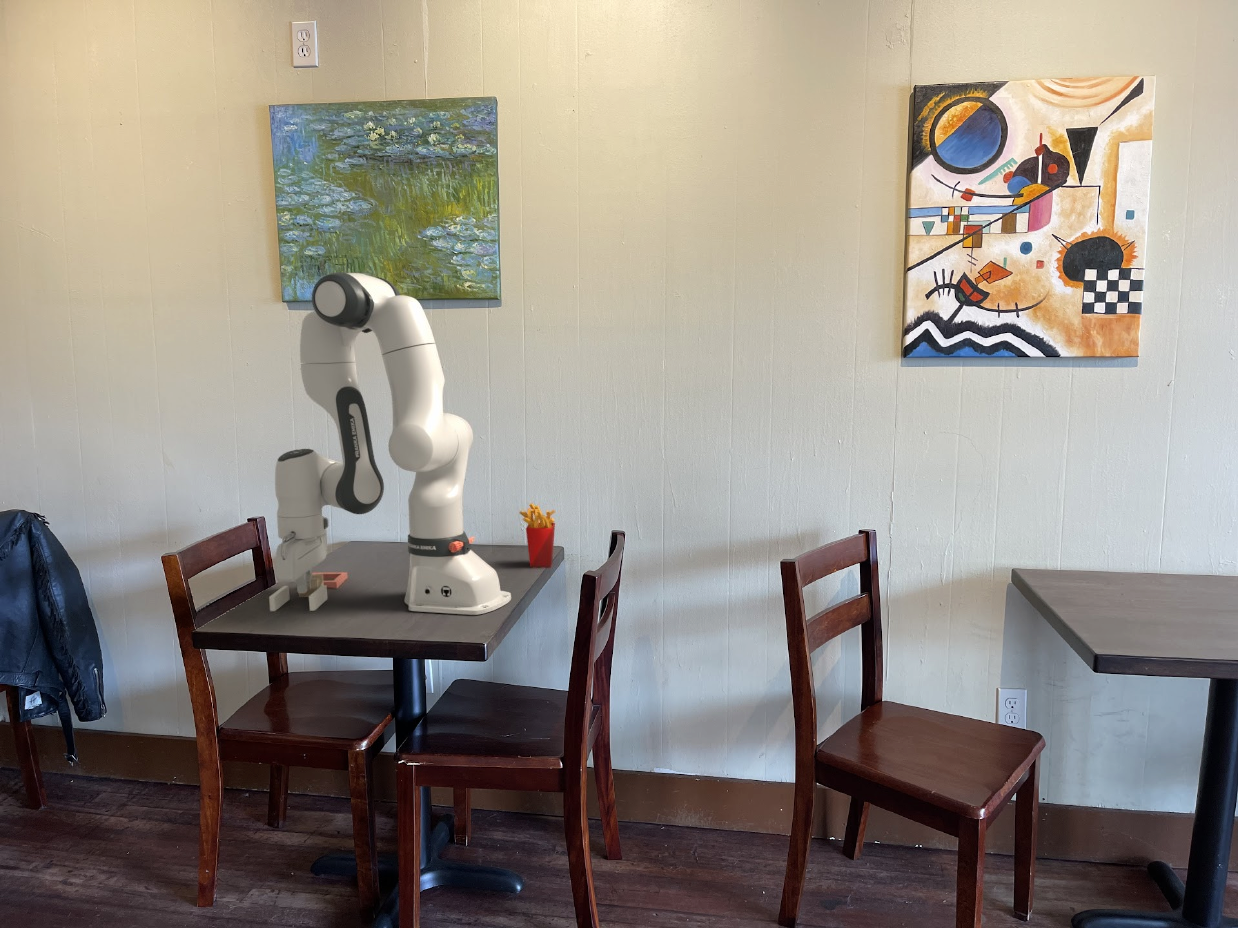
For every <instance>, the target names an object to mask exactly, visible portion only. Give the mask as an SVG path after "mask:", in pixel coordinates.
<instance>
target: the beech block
mask: <svg viewBox="0 0 1238 928" xmlns="http://www.w3.org/2000/svg"><path fill="white" fill-rule="evenodd" d="M310 583H311V588H310V589H309V590H308V591H307V592H306V593H298V597H299V598H309V596H310V595H311V594H312V593H313V592H315V591H316V590H317V589H318V588H319V587H321V586H322V585H324V583H323V574H312V577H311V581H310Z"/></svg>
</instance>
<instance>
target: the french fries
mask: <svg viewBox="0 0 1238 928" xmlns="http://www.w3.org/2000/svg"><path fill="white" fill-rule="evenodd" d="M528 506H529V507H530V508H527V509H526V510H524V511H523V510H520V511H519V515H521V516H523V519H522V521H523V522H524V523H527V526H526V528H525V530H526V533H525V534H526V539H527V549H528V557H529V566H530V567H547V568H548V569H550V568H551V567H552V564H553V558H554V557H553V556H554V546H555V545H554V544H555V528H556V522H555V519H554V517H551V516H552V515H554V514H555V513H556V510H555V509H553V510H551V511H550V510H546V511H545V513H546V515H544V514H543V512H542V511H541V508H540V506H539V505H538V504H537V505H534V503H529V504H528ZM526 511H527V512H526ZM547 568H546V569H547Z"/></svg>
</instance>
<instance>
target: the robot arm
mask: <svg viewBox="0 0 1238 928" xmlns="http://www.w3.org/2000/svg"><path fill="white" fill-rule="evenodd" d="M311 302H312V306H313V307H312V308H313V311H310V312H309V313H308V314H306V315H305V316H304V317H303V320H302V323H301V329H300V343H299V352H300V353H299V355H300V356H299V357H300V372H301V379H302V384H303V387H304V390H305V392H306V395H307V396H308V397H309V399H311V400H312V401H313V402H315V403H316V404H317V405H319V406H320V407H321V408H322V409H323V410H325V412H326V413H328V414H329V415H330V417H331V418H332V420H333V421H334V423H335V425H336V428H337V433H338V440H339V446H340V452H341V458H342V461H339V460H334V459H332V458H329V457H326V456H323V455H321V454H319V453H318V452H316V451H315V450H314V449H310V448H301V449H294V450H289V451H286V452H284V453H282V454H281V455H280V456H279V457H278V458H277V461H276V463H275V472H274V486H275V487H274V489H275V491H274V492H275V497H276V499H277V511H276V522H277V534H278V535H277V537H278V538H279V539H281V540H282V541H281V543H280V544H278V545H277V548H276V552H275V577H276V580H277V581H278V582H279V583H293V582H295V584H296V589H297V593H298V594H299V593H306V592H307V591H308V590H309V589H310V588H311V583H310V581H311V577H312V573H313V568H315V567H317V565H319V564H320V563H321V562H323V561H325V559H326V557H327V553H328V531H327V529H328V528H329V526H330V525H329V523H330V522H329V518H328V517H325V516H323V507H325V506H331V507H332V508H333V507H334V508H338V509H342V510H344V511H346V512H349V513H351V514H355V515H364V514H367V513H369V512H371V511H373V510H374V509H375V508H376V507H377V506H378V505H379V503H380V502H381V500H382V498H383V497H384V496H383V495H384V490H385V483H384V479H383V476H382V474H381V472H380V469H379V468H378V465H377V462H376V460H375V455H374V449H373V442H372V436H371V432H370V431H371V430H370V424H369V423H370V422H369V417H368V413H367V409H366V404H365V401H364V398H363V395H362V393H361V389H360V385H359V380H358V373H357V372H358V371H357V364H356V352H355V351H356V350H355V349H356V348H355V342H356V339H357V336H358V335H359V334H360V333H361V332H362V333H364V334H368V333H371V332H373V333H374V334H375V337H376V339H377V342H378V345H379V349H380V353H381V357H382V360H383V364H384V368H385V372H386V377H387V380H388V384H389V388H390V394H391V405H392V431H391V433H390V434H391V435H389V436H390V437H389V440H388V452H389V455H390V458H391V460H392V461H393V463H394V464H395V465H396V466H397V467H399V468H400V469H402V470H405V471H409V472H414V473H415V477H414V481H413V485H412V489H411V491H410V492H409V495H408V501H407V502H408V503H407V504H408V526H409V534H408V535H407V551H408V554H409V555H408V556H409V571H408V572H409V573H408V582H407V586H406V587H407V588H406V593H405V597H404V601H403V602H404V603H405V604H406V605H407V606H408V611H411V612H420V613H421V612H425V613H437V614H438V613H440V614H454V615H455V614H457V615H469V616H476V615H477V616H478V615H481V614H482V615H483V614H486V613H489V612H492V611H495V610H497V609H500V608H502V607H503V606H505V605H507V604H508V603H509V602H511V600H512V594H511V592H509V591H504V590H501V586H500V585H501V584H500V579H499V576H498V573H497V571H496V569H494V568H493V567H492V566H491V565H489V564H488V563H487V562H486V561H485V560H483V559H482V558H481V557H480V556H479V555H478V554H476V553H475V552H474V551H473V550H472V546H471V544H472V543H474V542H475V541H476V540H474V539H475V536H472V537H469V538H468V536H467V534H466V531H465V530H464V516H463V515H464V509H463V501H464V500H463V497H464V496H463V495H464V494H463V493H464V484H465V479H466V474H467V466H468V459H469V454H470V451H471V447H472V446H473V443H474V432H473V428H472V427H471V425H470V423H469V422H468V421H467V420H466V419H465V418H463V417H461V416H458V415H457V414H453V413H449V412H444V400H443V399H444V398H443V397H444V396H443V395H444V388H445V387H444V386H445V383H446V379H445V375H444V371H443V367H442V363H441V358H440V356H439V352H438V348H437V344H436V341H435V337H434V334H433V330H432V328H431V326H430V323H429V320H428V318H427V316H426V313H425V311H424V308H423V307H422V305H421V304H420V302H419V301H418V299H416V298H414V297H412V296H410V295H409V296H408V295H401V293H400V291H399V290H398V288H397V287H396V286H395V285H394V284H393V283H392V282H390V281H389V280H387V279H385V278H382V277H378V276H371V275H367V274H364V273H360V272H359V273H358V272H339V271H336V272H333V273H332V272H331V273H329V274H326V275H324V276H322V277H321V278H320V279H319V280H317V281H316V282H315V285H314V286H313V289H312V292H311Z"/></svg>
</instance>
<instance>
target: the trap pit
mask: <svg viewBox="0 0 1238 928" xmlns="http://www.w3.org/2000/svg"><path fill="white" fill-rule="evenodd" d="M312 574H323V583H324V585H327V590H328V589H338V588H339V587H340V586H341V585H342V584H343V583H345V581H347V580H348V572H346V571H345V572H343V571H342V572H312Z"/></svg>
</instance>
